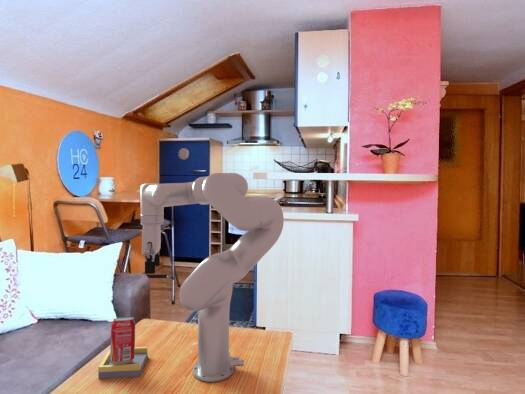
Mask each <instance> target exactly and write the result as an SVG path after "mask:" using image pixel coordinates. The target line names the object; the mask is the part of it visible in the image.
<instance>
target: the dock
mask: <svg viewBox="0 0 525 394" xmlns="http://www.w3.org/2000/svg"><path fill="white" fill-rule="evenodd" d="M148 353H149V351H148V346H137V347H136V346H135V351H134V359H133V361H132V362H130V363H128V364H122V365H114V364H112V363H111V362H110V348H109V349H108V351H107V352H106V354H105V355H104V357H103V359H102V361H101V362H100V364H99V365H98V366H97V367H98V368H97V369H98V373H97V374H98V376H97V377H98V379H100V380H101V379H115V378H116V379H118V378H119V379H120V378H132V377H133V378H139V377H141V375H142V373H143V370H144V367H145V365H146V361H147V359H148Z"/></svg>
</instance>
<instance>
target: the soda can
mask: <svg viewBox="0 0 525 394" xmlns="http://www.w3.org/2000/svg"><path fill="white" fill-rule="evenodd" d="M110 330H111V331H110V346H109V347H110V348H109V349H110V362H111V363H112V364H114V365H122V364H128V363H130V362H132V361H133V359H134V351H135V347H136V346H135V345H136V321H135V317H131V316H130V317H129V316H127V317H125V316H124V317H116V318H114V319H112V323H111V328H110Z"/></svg>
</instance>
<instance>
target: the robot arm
mask: <svg viewBox="0 0 525 394" xmlns="http://www.w3.org/2000/svg"><path fill="white" fill-rule="evenodd" d="M248 190H249V184H248V181H247V179H246V178H245V177H244V176H243V175H242V174H239V173H236V172H214V173H211V174H209V175H208V176H200V177H198V178H197V177H196V179H194V181H189V182H188V181H187V182H174V183H173V182H172V183H171V182H170V183H169V182H168V183H150V182H149V183H148V182H147V183H143V184H141V185H140V193H139V194H140V195H139V196H140V199H139V200H140V225H141V226H142V231H141V232H142V235H141V255H143V256H144V255H145V256H144V274H146V275H147V274H155V273H156V267H160V263H161V261H160V259H161V255H160V250H161V244H162V237H161V235H162V232H161V229H162V228H161V226H162V225H164V224H165V220H164V218H165V217H164V216H165V213H164V209H165V208H166V207H167V208H168V207H177V206H185V205H186V206H187V205H197V204H199V205H201V206H202V205H204V206H205V205H211V206H212V208H213V209H215V211H216V212H218V213H219V215H221V216H222V217H223V219H225V220H226V221H227V222H228V223H229V224H230V225H231V226H233V227H234V228H235V229H237V230H240V231H246V232H244V233H243V234H242V235H241V236H240V237H239V238H238V239H237V241H236V242H235V243H233V245H231V247H229V248H228V249H226V250H224V251H223V250H222V251H221V252H217V253H214V254H211V255H210V256H207V257H205V258H204V259H203V260H202V261H201V262H200V263H199V264H198V265H197V266H196V268H194V269H193V271H192V272H191V273H190V274H189V275H188V277H186V279H185V280H184V281H183V283H181V284H182V285H181V287H180V290H179V300H180V303H181V305H182V306H183V308H185V309H186V310H188V311H190V312H198V317H197V320H198V321H197V362H196V363H195V364H194V365H193V367H192V373H193V376H194V377H195V378H196V379H198V380H200V381H203V382H207V383H208V382H209V383H212V382H213V383H216V382H220V381H224V380H226V379H228V378H230V376H232V375H233V374H234V371H235V370H234V369H235V368H234V367H244V365H245V364H244V363H245V362H244V359H240V356H232V355H231V352H230V309H231V300H232V296H233V290H234V288H233V284H235V283H238V282H239V281H241V280H242V279H244V278H245V276H246V275H247V274H248V273H249V272H250V271H251V270H253V268H254V267H255V266H256V265H257V264H258V263H259V262H260V261H261V259H262V258H263V257H264V256H265V255H266V254H268V252H269V251H270V250H271V249H273V246H274V245H275V244H276V243H277V242H278V240H279V238H280V236H281V234H282V231H283V228H284V223H285V222H284V221H285V220H284V219H285V217H284V212H283V209H282V206H281V205H280V204H279V202H278V201H277V200H275V199H273V198H271V197H267V196H258V197H257V196H256V197H250V198H249V197H246V195H247V193H248Z"/></svg>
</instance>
